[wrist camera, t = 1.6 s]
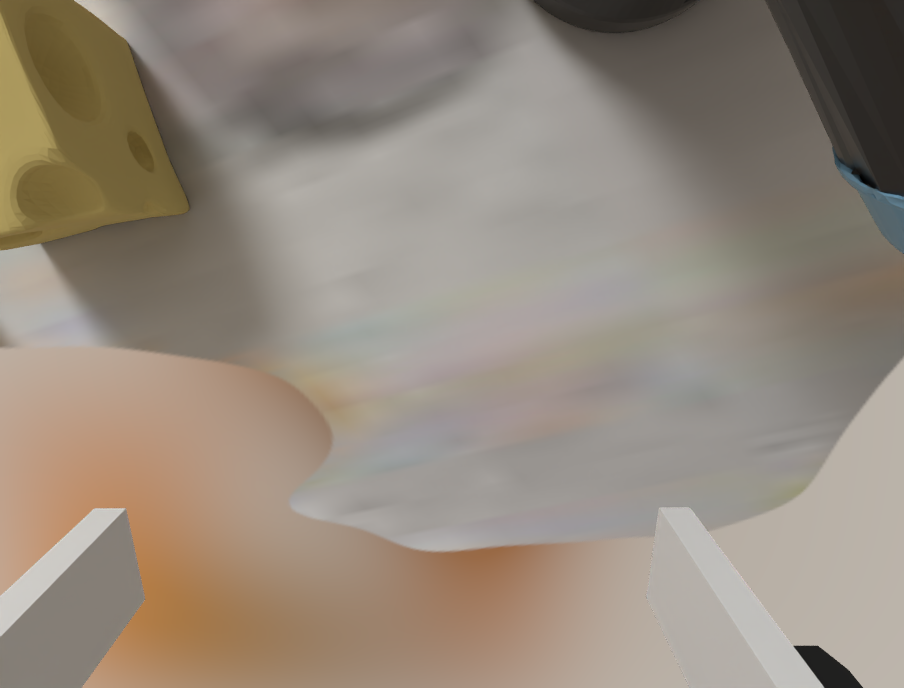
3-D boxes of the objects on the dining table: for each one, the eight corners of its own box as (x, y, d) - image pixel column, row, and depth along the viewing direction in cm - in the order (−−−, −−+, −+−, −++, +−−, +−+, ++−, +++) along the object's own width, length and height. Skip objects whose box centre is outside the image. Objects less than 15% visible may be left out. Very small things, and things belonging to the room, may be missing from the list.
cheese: (197, 211, 32) (94, 222, 22) (31, 251, 32) (-138, 277, 23) (129, 24, 29) (-22, -56, 19) (-51, 70, 29) (-287, 14, 20)
